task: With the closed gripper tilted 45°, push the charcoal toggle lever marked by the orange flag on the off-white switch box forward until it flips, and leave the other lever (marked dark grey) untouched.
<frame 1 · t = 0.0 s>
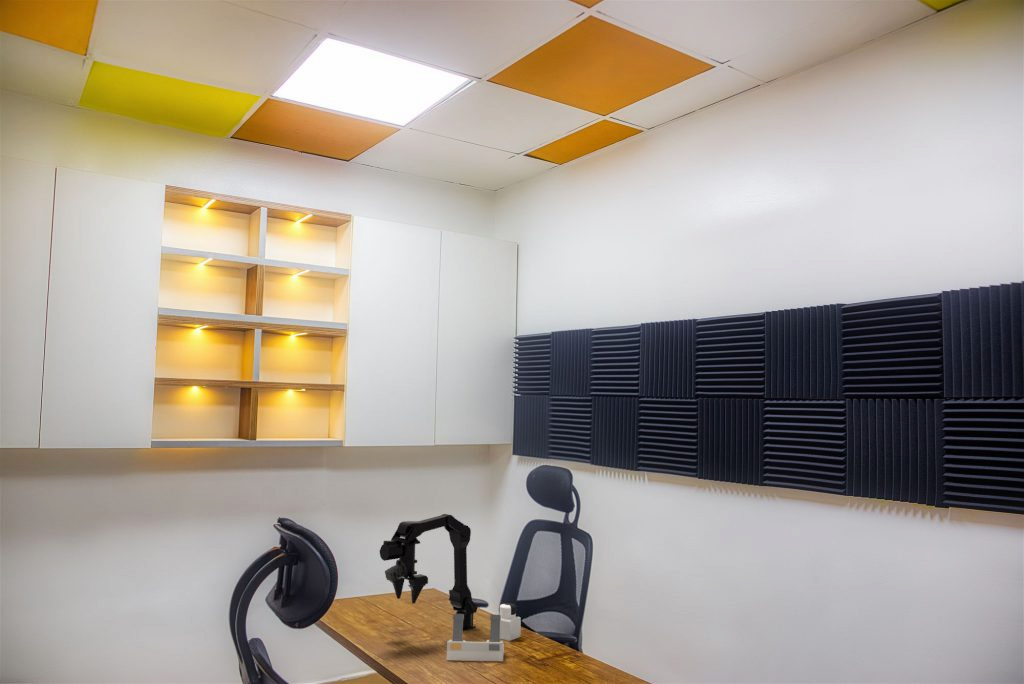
hand: (406, 600, 273), 15 cm above the table, tool pointing down, fingers open, 9 cm apart
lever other: (495, 630, 260), point 8 cm above the table, hinge at -20.0°
switch box: (475, 656, 257), on the table
lever flagged: (457, 629, 260), point 8 cm above the table, hinge at -20.0°
medicine bottle: (507, 637, 279), on the table
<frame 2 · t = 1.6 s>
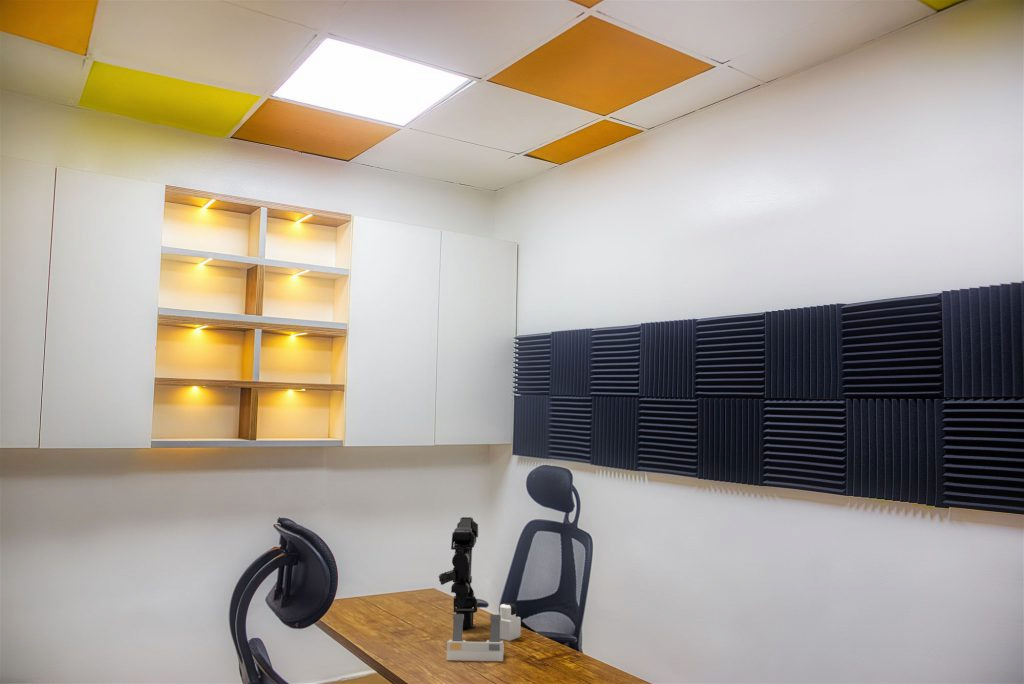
hand: (461, 607, 275), 12 cm above the table, tool pointing down, fingers open, 3 cm apart
nothing on the table moved.
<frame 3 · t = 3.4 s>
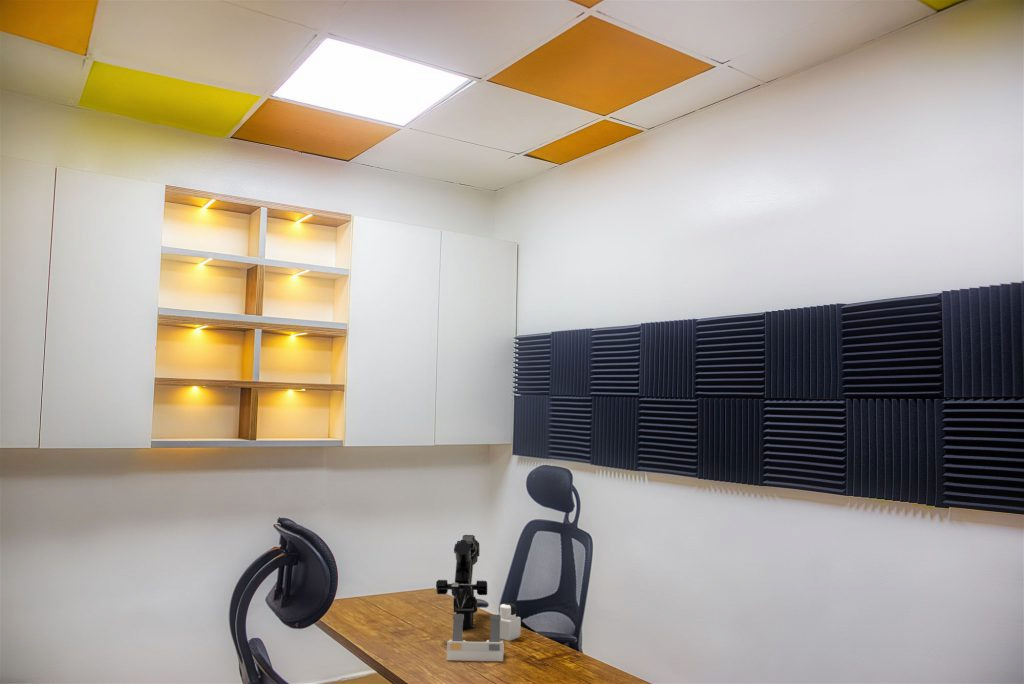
hand: (460, 608, 270), 13 cm above the table, tool tilted 45°, fingers closed
nothing on the table moved.
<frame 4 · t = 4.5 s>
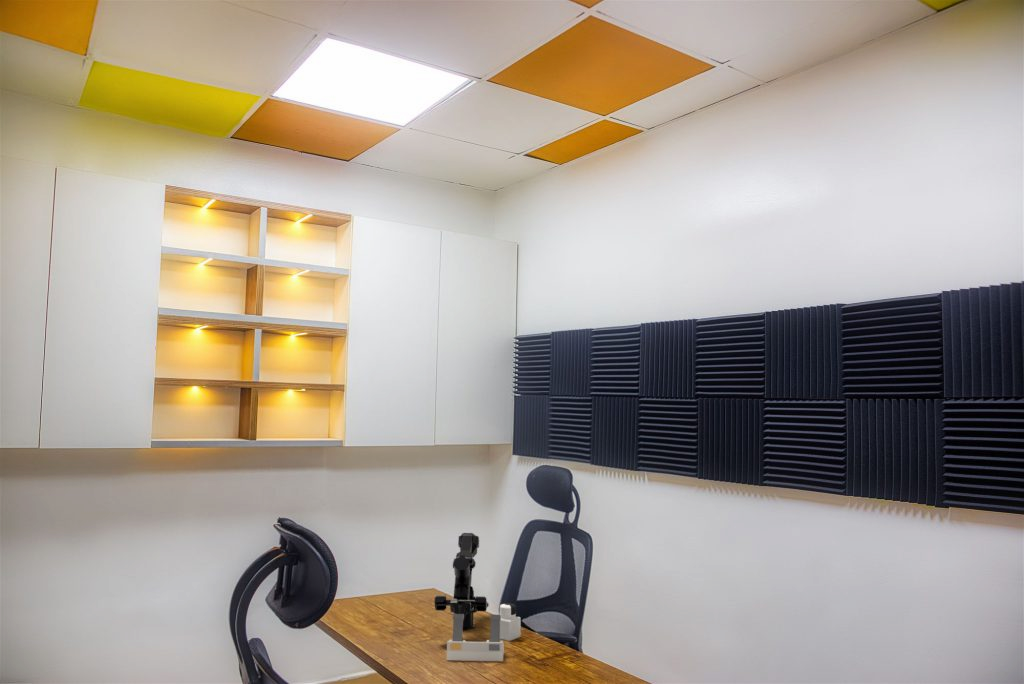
hand: (459, 625, 265), 8 cm above the table, tool tilted 45°, fingers closed
nothing on the table moved.
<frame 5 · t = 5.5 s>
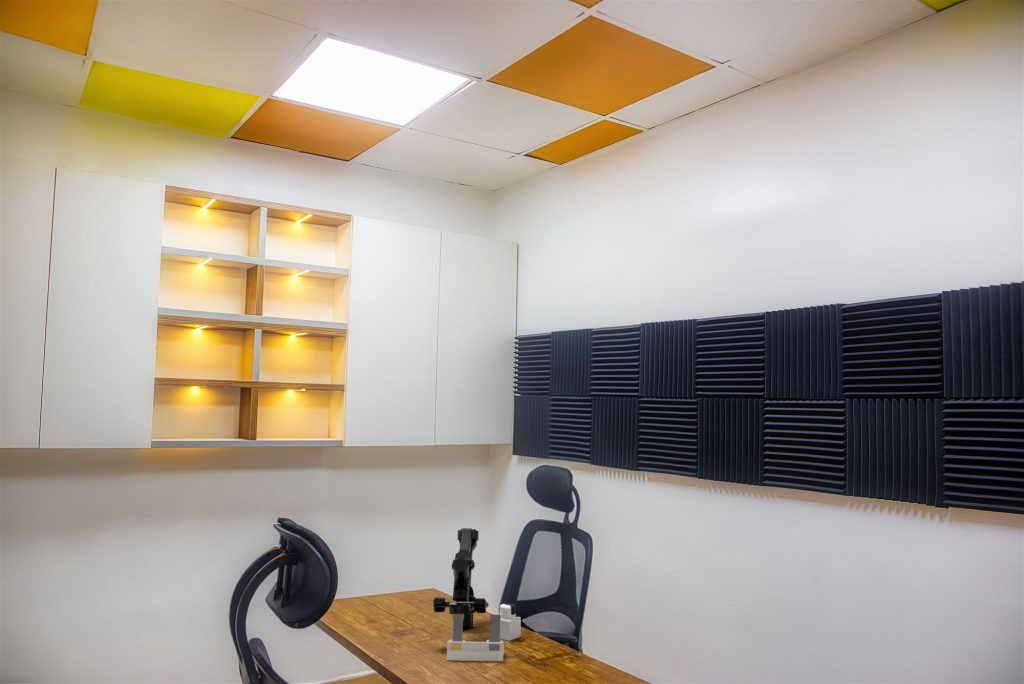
hand: (458, 627, 262), 9 cm above the table, tool tilted 45°, fingers closed, pressing on lever flagged
lever flagged: (457, 629, 260), point 8 cm above the table, hinge at -18.4°, touching gripper
everything else where it was.
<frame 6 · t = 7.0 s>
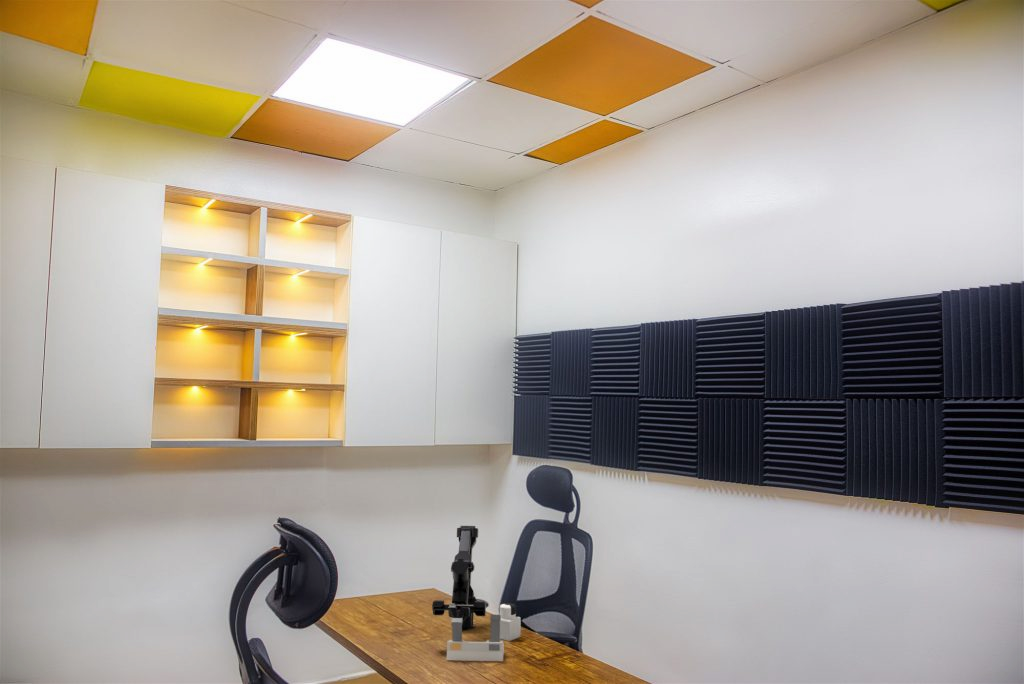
hand: (457, 630, 259), 8 cm above the table, tool tilted 45°, fingers closed
lever flagged: (457, 632, 257), point 8 cm above the table, hinge at 22.7°
everything else where it was.
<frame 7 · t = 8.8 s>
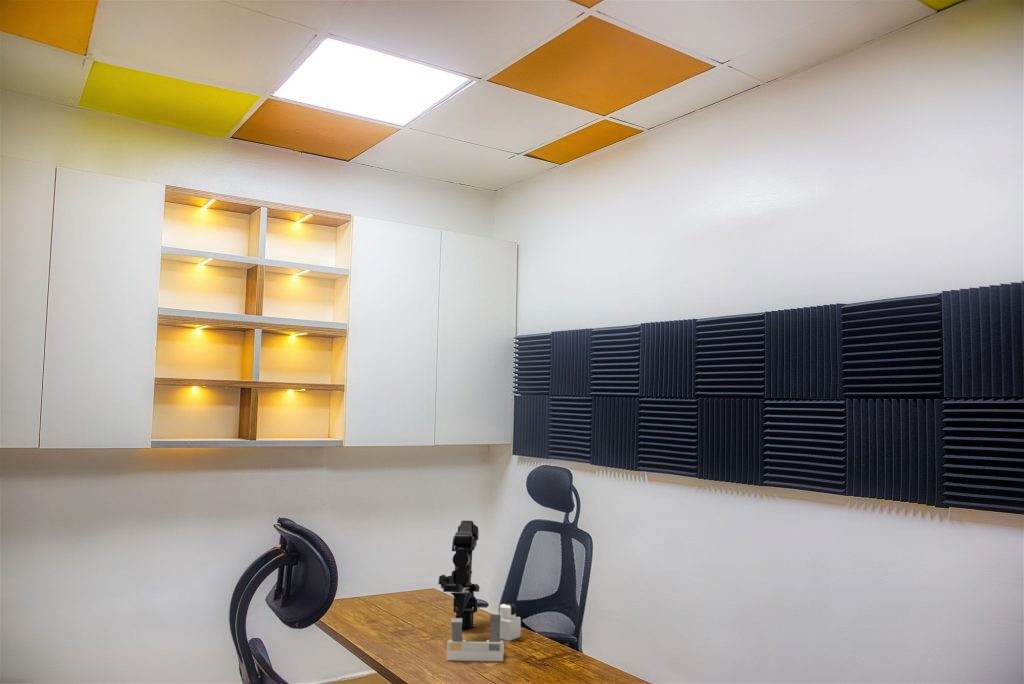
hand: (460, 612, 273), 11 cm above the table, tool pointing down, fingers closed
nothing on the table moved.
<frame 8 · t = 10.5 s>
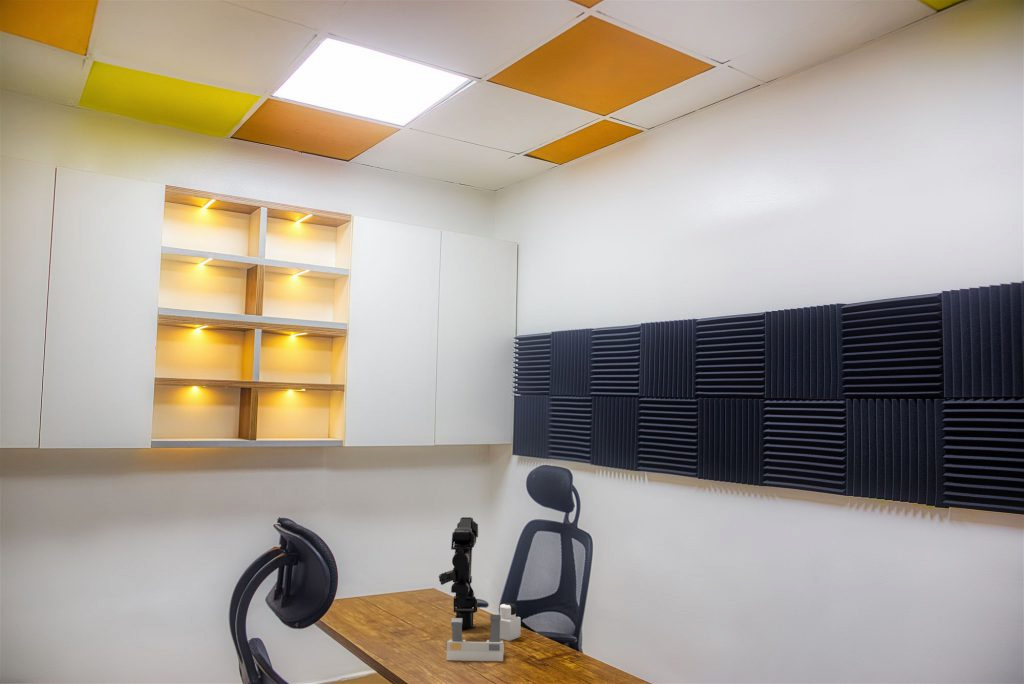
hand: (461, 607, 275), 12 cm above the table, tool pointing down, fingers closed
nothing on the table moved.
at the end: lever flagged at +23° (first picture: -20°); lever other at -20° (first picture: -20°) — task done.
